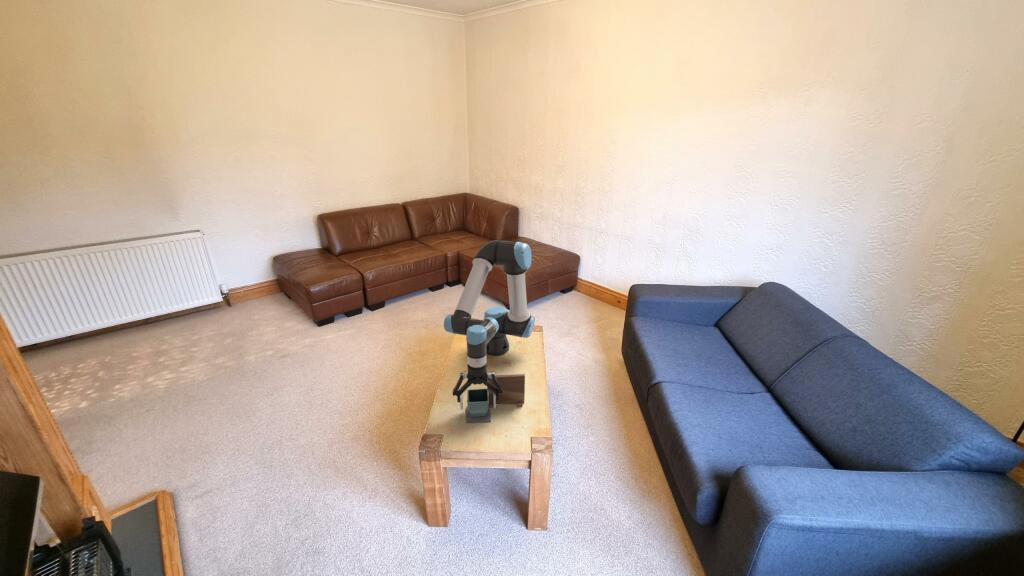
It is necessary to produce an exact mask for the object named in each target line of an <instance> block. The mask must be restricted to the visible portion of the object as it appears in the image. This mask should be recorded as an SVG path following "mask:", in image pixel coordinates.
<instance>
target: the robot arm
mask: <svg viewBox="0 0 1024 576" xmlns="http://www.w3.org/2000/svg"><path fill="white" fill-rule="evenodd" d="M532 259H533V257H532V249H531V247H530V246H529V245H528V243H525V242H521V241H509V240H500V239H494V240H491V241H488V242H487V243H485V244H484V245H483V246H481V247H480V248H479V249H478V250H477V252H476V253H475V255H474V257H473V260H472V262H471V263H472V268H471V270H470V273H469V275H468V277H467V280H466V282H465V285H464V287H463V290H462V293H461V294H460V295H461V296H460V298H459V300H458V302H457V305H456V307H455V309H454V312H453V313H452V314H451V313H450V314H447V315H446V317H444V320H443V329H444V330H445V332H447V333H450V334H454V335H461V336H465V339H466V355H467V356H466V357H467V358H466V361H467V374H466V373H465V374H464V373H463V372H460V373H459V378H458V380H457V382H456V384H455V386H454V388H453V389H452V396H456V400H457V403H460V404H459V405H460V411H463V407H464V406H463V394H464V393H465V391H467V390H468V389H469V387H471V386H472V385H482V384H483V385H484V386H486V388H487V387H488V388H489V389H490V390H491V391H493V397H494V408H493V409H496V407H497V406H496V401H498V395H499V393H503V389H502V387H501V385H500V383H499V382H498V380H497V379H496V377H495V375H496V373H495V371H491V372H488V371H487V368H488V365H487V355H489V356H501V355H505V354H506V353H508V352H509V350H510V343H509V340H508V336H513V337H517V338H525V339H527V338H530V337H531V335H532V333H533V330H534V327H535V322H536V321H535V320H536V318H535V316H533V315H531V311H530V309H528V300H527V286H526V273H527V272H528V270H529V269H530V267H531V266H532ZM494 266H498V267H502V271H503V273H504V274H505V275H506V281H507V290H508V291H507V292H508V302H509V311H507V308H506V307H504V306H493V307H490V308H488V309H486V310H484V315H483V316H484V317H483V319H479V318H478V319H477V318H473V317H472V316H473V313H474V311H475V308H476V307H477V306H476V305H477V304H478V301H479V299H480V295H481V293H482V291H483V288H484V285H485V282H486V279H487V277H488V275H489V272H491V271H492V270H493V267H494ZM507 335H508V336H507ZM507 351H508V352H507ZM488 377H490V378H491V379H492V380H493V382H494V384H495V385H496V387H497V388H496V387H495V386H494V385H493V384H492V383H491V382H489V381H488V379H487V378H488ZM466 379H467V381H466V382H465V383H464V384H463V381H465V380H466ZM462 384H463V385H462ZM461 385H462V386H461Z"/></svg>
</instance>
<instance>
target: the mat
mask: <svg viewBox="0 0 1024 576" xmlns="http://www.w3.org/2000/svg"><path fill="white" fill-rule="evenodd" d="M465 407H466V408H465V409H466V410H465V411H466V413H465V414H466V416H465V417H466V418H465V421H466V422H465V423H466V424H475V423H476V424H479V423H480V424H481V423H491V422H492V418H491V417H492V414H491V408H490V405H488V411H487V414H486V415H485V416H483V417H472V416H471V415H470V413H469V411H468V405H467V406H465Z"/></svg>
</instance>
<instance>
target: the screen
mask: <svg viewBox="0 0 1024 576" xmlns="http://www.w3.org/2000/svg"><path fill="white" fill-rule="evenodd" d="M495 377H496V379H497V380H498V382H499V383H500V385H501V387H502V389H503V393H499V395H498V401H496V405H512V404H513V405H516V404H517V407H518V408H522V407H523V404H524V403H525V390H526V388H525V387H526V382H525V381H526V375H525V374H524V373H517V374H516V373H514V374H499V375H498V374H497V375H496V374H495ZM487 379H488V381H489V382H491V383H492V384H493V385H494V386H495V387H496V385H495V384H494V382H493V380H492V379H491V378H490V377H488V378H487ZM496 388H497V387H496ZM486 389H488V395H489V405H490V409H495V408H494V397H493V391H491V390H490V389H489V388H488V387H487V386H486Z"/></svg>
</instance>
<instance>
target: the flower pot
mask: <svg viewBox="0 0 1024 576" xmlns="http://www.w3.org/2000/svg"><path fill="white" fill-rule="evenodd" d="M466 405H467V406H468V411H469V413H470V415H471V416H472V417H483V416H485V415H486V414H487V411H488V405H489V395H488V389H487V388H475V389H473V388H472V389H469V388H468V389H466Z"/></svg>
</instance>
